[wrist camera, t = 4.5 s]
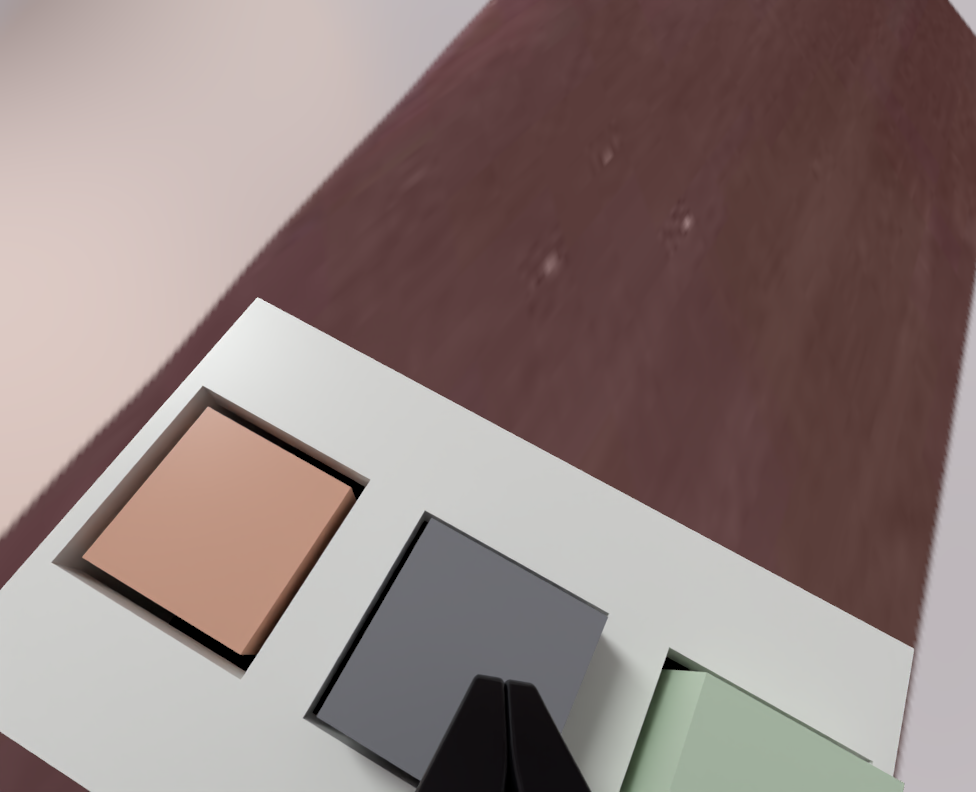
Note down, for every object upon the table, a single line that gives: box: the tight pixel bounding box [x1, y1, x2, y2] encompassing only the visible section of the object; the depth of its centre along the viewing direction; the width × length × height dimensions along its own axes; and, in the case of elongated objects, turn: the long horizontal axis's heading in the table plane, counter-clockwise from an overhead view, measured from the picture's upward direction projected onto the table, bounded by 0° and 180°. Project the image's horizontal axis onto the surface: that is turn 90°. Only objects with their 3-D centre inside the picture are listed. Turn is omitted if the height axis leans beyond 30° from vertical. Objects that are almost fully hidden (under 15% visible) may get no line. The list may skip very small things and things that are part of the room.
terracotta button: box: [82, 407, 356, 655], centre depth 12 cm, size 4×4×2 cm
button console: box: [0, 297, 914, 792], centre depth 14 cm, size 9×16×7 cm, turn 62°
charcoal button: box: [316, 518, 608, 781], centre depth 11 cm, size 4×4×2 cm
